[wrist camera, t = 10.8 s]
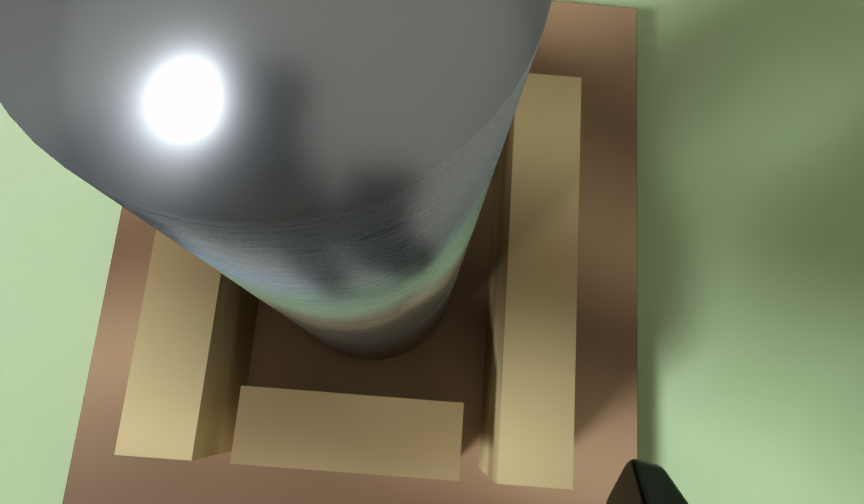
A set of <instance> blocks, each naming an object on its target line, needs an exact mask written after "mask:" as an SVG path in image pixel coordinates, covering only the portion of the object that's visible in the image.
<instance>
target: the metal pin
mask: <svg viewBox="0 0 864 504" xmlns="http://www.w3.org/2000/svg"><path fill="white" fill-rule="evenodd" d="M551 1H552V0H0V102H1V103H2V105H3V106H4V108H5V109H6V111H7V112H8V114H9V115H10V116H11V118H12V119H13V120H14V121H15V122H16V123H17V124H18V125H19V126H20V127H21V128H22V130H23V131H24V132H25V133H26V134H27V135H28V136H29V137H30V138H31V139H32V141H33V142H34V143H35V144H37V145H38V146H39V147H40V148H42V149H43V150H44V151H45V152H47V153H48V154H49V155H50V156H51V157H53V158H54V159H55V160H56V161H58V162H59V163H60V164H61V165H62V166H64V167H65V168H66V169H68V170H69V171H71V172H72V173H74V174H75V175H77V176H78V177H80V178H81V179H83V180H84V181H86V182H87V183H89V184H90V185H92V186H93V187H95V188H96V189H97V190H99V191H100V192H102V193H103V194H105V195H106V196H108V197H109V198H111V199H112V200H114V201H115V202H117V203H118V204H120V205H121V206H123V207H124V208H126V209H127V210H129V211H130V212H132V213H133V214H134V215H136V216H137V217H139V218H140V219H142V220H143V221H145V222H146V223H148V224H149V225H151V226H152V227H154V228H155V229H157V230H158V231H160V232H161V233H163V234H164V235H166V236H167V237H169V238H170V239H171V240H173V241H174V242H176V243H177V244H179V245H180V246H182V247H183V248H185V249H186V250H188V251H189V252H191V253H192V254H194V255H195V256H197V257H198V258H200V259H201V260H203V261H204V262H206V263H207V264H208V265H210V266H211V267H213V268H214V269H216V270H217V271H219V272H220V273H222V274H223V275H225V276H226V277H228V278H229V279H231V280H232V281H234V282H235V283H237V284H238V285H240V286H241V287H242V288H244V289H245V290H247V291H248V292H250V293H251V294H253V295H254V296H256V297H257V298H259V299H260V300H262V301H263V302H265V303H266V304H268V305H269V306H271V307H272V308H274V309H275V310H277V311H278V312H279V313H281V314H282V315H284V316H285V317H287V318H288V319H290V320H291V321H293V322H294V323H296V324H297V325H299V326H300V327H302V328H303V329H305V330H306V331H308V332H309V333H311V334H312V335H314V336H315V337H316V338H318V339H319V340H321V341H322V342H324V343H325V344H327V345H328V346H330V347H331V348H333V349H335V350H336V351H338V352H340V353H343V354H345V355H347V356H350V357H354V358H358V359H365V360H382V359H389V358H393V357H396V356H399V355H402V354H404V353H407V352H408V351H410V350H412V349H414V348H416V347H417V346H418V345H420V344H421V343H422V342H424V341H425V340H426V339H427V338H428V337H429V336H430V335H431V334H432V332H433V331H434V330H435V328H436V327H437V326H438V324H439V322H440V321H441V319H442V317H443V314H444V312H445V310H446V307H447V304H448V301H449V299H450V296H451V293H452V290H453V287H454V284H455V281H456V279H457V276H458V273H459V270H460V267H461V264H462V262H463V259H464V256H465V253H466V250H467V247H468V244H469V242H470V239H471V236H472V233H473V230H474V227H475V225H476V222H477V219H478V216H479V213H480V210H481V207H482V205H483V202H484V199H485V196H486V193H487V190H488V188H489V185H490V182H491V179H492V176H493V173H494V171H495V168H496V165H497V162H498V159H499V156H500V153H501V151H502V148H503V145H504V142H505V139H506V136H507V134H508V131H509V128H510V125H511V122H512V119H513V116H514V114H515V111H516V108H517V105H518V102H519V99H520V97H521V94H522V91H523V88H524V85H525V82H526V80H527V77H528V74H529V71H530V68H531V65H532V62H533V60H534V57H535V54H536V51H537V48H538V45H539V43H540V40H541V37H542V34H543V31H544V28H545V24H546V20H547V16H548V12H549V9H550V5H551Z"/></svg>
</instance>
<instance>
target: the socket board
mask: <svg viewBox="0 0 864 504" xmlns="http://www.w3.org/2000/svg"><path fill="white" fill-rule="evenodd" d="M632 459H637V69H636V8H627V7H616V6H605V5H593V4H582V3H570V2H559V1H551V5H550V9H549V12H548V16H547V20H546V24H545V28H544V31H543V34H542V37H541V40H540V43H539V45H538V48H537V51H536V54H535V57H534V60H533V62H532V65H531V68H530V71H529V74H528V77H527V80H526V82H525V85H524V88H523V91H522V94H521V97H520V99H519V102H518V105H517V108H516V111H515V114H514V116H513V119H512V122H511V125H510V128H509V131H508V134H507V136H506V139H505V142H504V145H503V148H502V151H501V153H500V156H499V159H498V162H497V165H496V168H495V171H494V173H493V176H492V179H491V182H490V185H489V188H488V190H487V193H486V196H485V199H484V202H483V205H482V207H481V210H480V213H479V216H478V219H477V222H476V225H475V227H474V230H473V233H472V236H471V239H470V242H469V244H468V247H467V250H466V253H465V256H464V259H463V262H462V264H461V267H460V270H459V273H458V276H457V279H456V281H455V284H454V287H453V290H452V293H451V296H450V299H449V301H448V304H447V307H446V310H445V312H444V314H443V317H442V319H441V321H440V322H439V324H438V326H437V327H436V328H435V330H434V331H433V332H432V334H431V335H430V336H429V337H428V338H427V339H426V340H425V341H424V342H422V343H421V344H420V345H418V346H417V347H416V348H414V349H412V350H410V351H408V352H407V353H404V354H402V355H399V356H396V357H393V358H389V359H382V360H365V359H358V358H354V357H350V356H347V355H345V354H343V353H340V352H338V351H336V350H335V349H333V348H331V347H330V346H328V345H327V344H325V343H324V342H322V341H321V340H319V339H318V338H316V337H315V336H314V335H312V334H311V333H309V332H308V331H306V330H305V329H303V328H302V327H300V326H299V325H297V324H296V323H294V322H293V321H291V320H290V319H288V318H287V317H285V316H284V315H282V314H281V313H279V312H278V311H277V310H275V309H274V308H272V307H271V306H269V305H268V304H266V303H265V302H263V301H262V300H260V299H259V298H257V297H256V296H254V295H253V294H251V293H250V292H248V291H247V290H245V289H244V288H242V287H241V286H240V285H238V284H237V283H235V282H234V281H232V280H231V279H229V278H228V277H226V276H225V275H223V274H222V273H220V272H219V271H217V270H216V269H214V268H213V267H211V266H210V265H208V264H207V263H206V262H204V261H203V260H201V259H200V258H198V257H197V256H195V255H194V254H192V253H191V252H189V251H188V250H186V249H185V248H183V247H182V246H180V245H179V244H177V243H176V242H174V241H173V240H171V239H170V238H169V237H167V236H166V235H164V234H163V233H161V232H160V231H158V230H157V229H155V228H154V227H152V226H151V225H149V224H148V223H146V222H145V221H143V220H142V219H140V218H139V217H137V216H136V215H134V214H133V213H132V212H130V211H129V210H127V209H126V208H124V207H123V206H122V210H121V215H120V220H119V225H118V230H117V235H116V240H115V245H114V250H113V255H112V260H111V265H110V270H109V275H108V280H107V285H106V290H105V295H104V300H103V305H102V309H101V314H100V319H99V324H98V329H97V334H96V339H95V344H94V349H93V354H92V359H91V364H90V369H89V374H88V379H87V384H86V389H85V394H84V399H83V404H82V409H81V414H80V419H79V424H78V429H77V434H76V439H75V444H74V449H73V454H72V459H71V464H70V469H69V474H68V479H67V484H66V488H65V493H64V498H63V503H62V504H606V502H607V499H608V497H609V495H610V493H611V491H612V489H613V487H614V485H615V483H616V481H617V480H618V478H619V476H620V474H621V472H622V470H623V468H624V467H625V465H626V464H627V462H628V461H630V460H632Z"/></svg>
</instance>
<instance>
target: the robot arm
mask: <svg viewBox="0 0 864 504" xmlns="http://www.w3.org/2000/svg"><path fill="white" fill-rule="evenodd" d="M606 504H688V502H687V501H686V500H685V498H684V497H683V495H682V494H681V492H680V491H679V490H678V488H677V487H676V485H675V484H674V482H673V481H672V480H671V478H670V477H669V475H668V474H667V472H666V471H665V470H664V469H663V468H662V467H660V466H658V465H656V464H652V463H648V462H645V461H641V460H637V459H632V460H630V461H628V462H627V464H626V465H625V467H624V468H623V470H622V472H621V474H620V476H619V478H618V480H617V481H616V483H615V485H614V487H613V489H612V491H611V493H610V495H609V497H608V499H607V502H606Z"/></svg>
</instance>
